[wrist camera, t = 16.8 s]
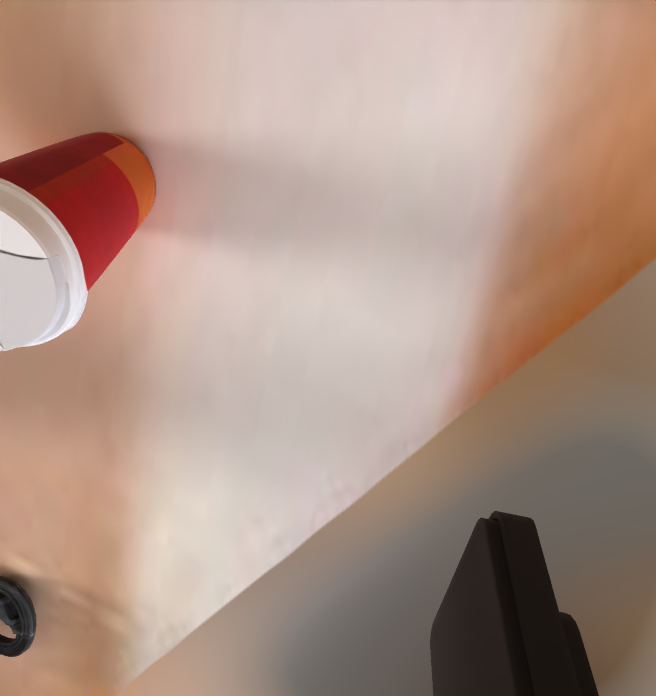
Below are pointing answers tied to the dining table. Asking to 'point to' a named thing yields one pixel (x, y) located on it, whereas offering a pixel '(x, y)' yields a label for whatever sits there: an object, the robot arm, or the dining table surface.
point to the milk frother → (16, 618)
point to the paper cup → (64, 229)
